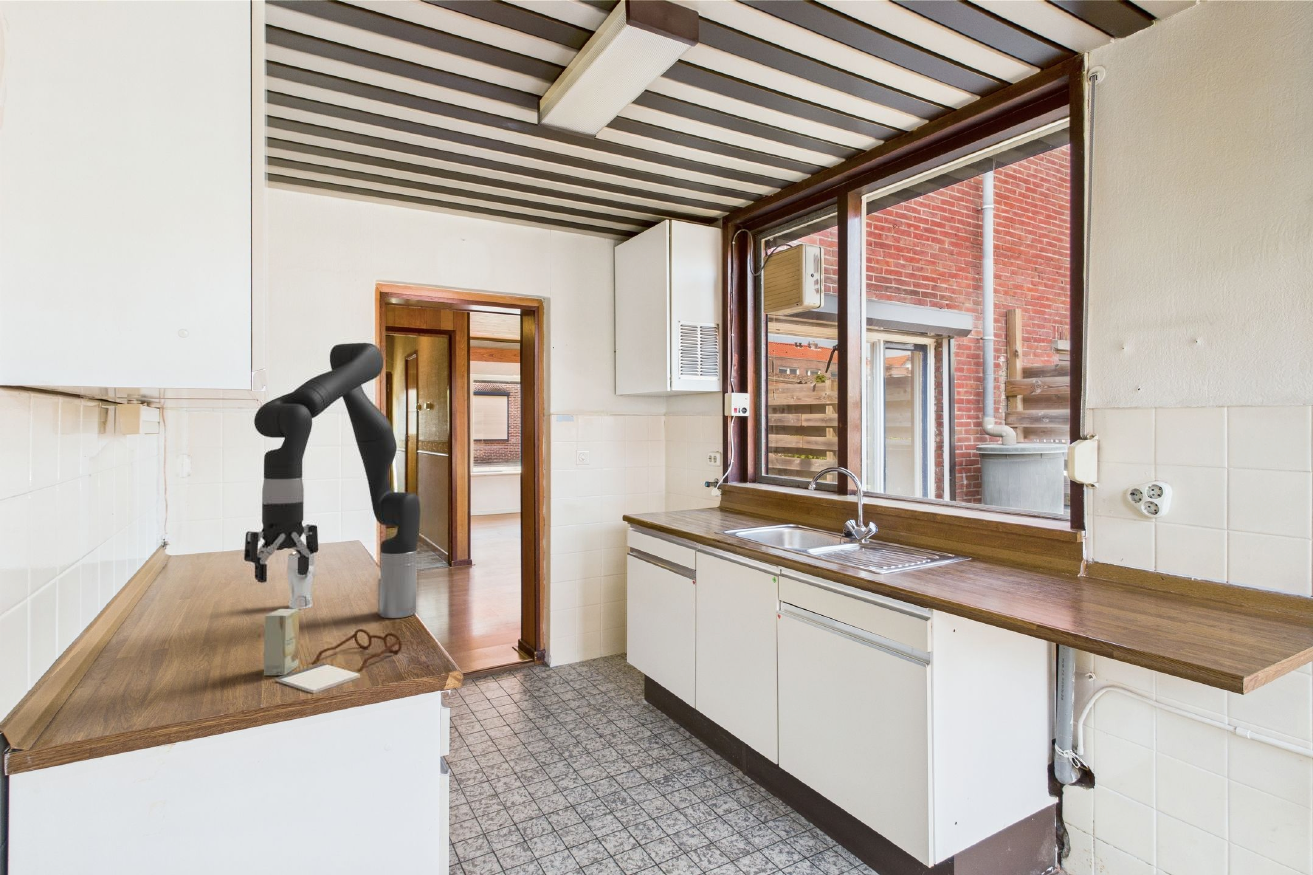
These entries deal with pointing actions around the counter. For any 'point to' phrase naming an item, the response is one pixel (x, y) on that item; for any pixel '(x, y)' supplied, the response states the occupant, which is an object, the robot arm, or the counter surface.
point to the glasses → (388, 648)
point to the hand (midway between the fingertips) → (282, 578)
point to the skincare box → (281, 641)
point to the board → (318, 678)
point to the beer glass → (300, 582)
